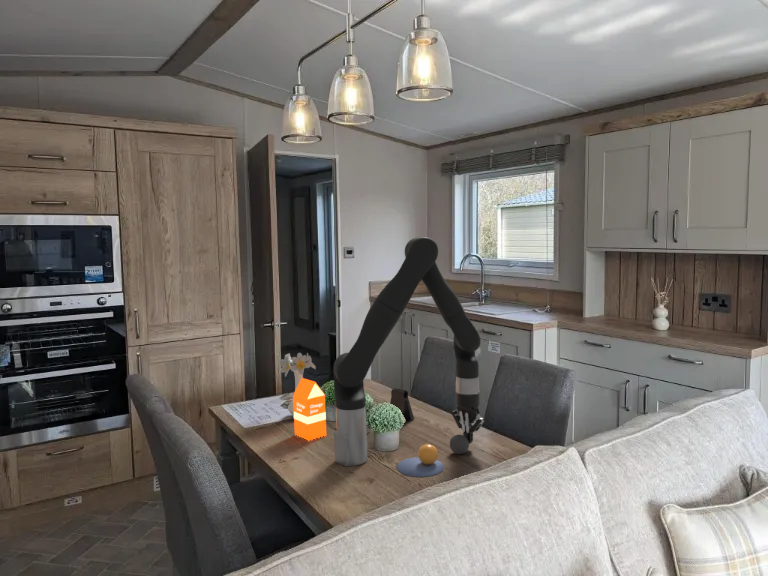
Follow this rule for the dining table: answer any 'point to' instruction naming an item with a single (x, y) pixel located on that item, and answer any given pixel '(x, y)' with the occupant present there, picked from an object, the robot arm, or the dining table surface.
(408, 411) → the door stopper
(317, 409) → the orange juice
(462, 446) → the gray ball
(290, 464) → the dining table surface
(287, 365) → the flower vase
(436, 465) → the blue plate
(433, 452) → the orange ball
